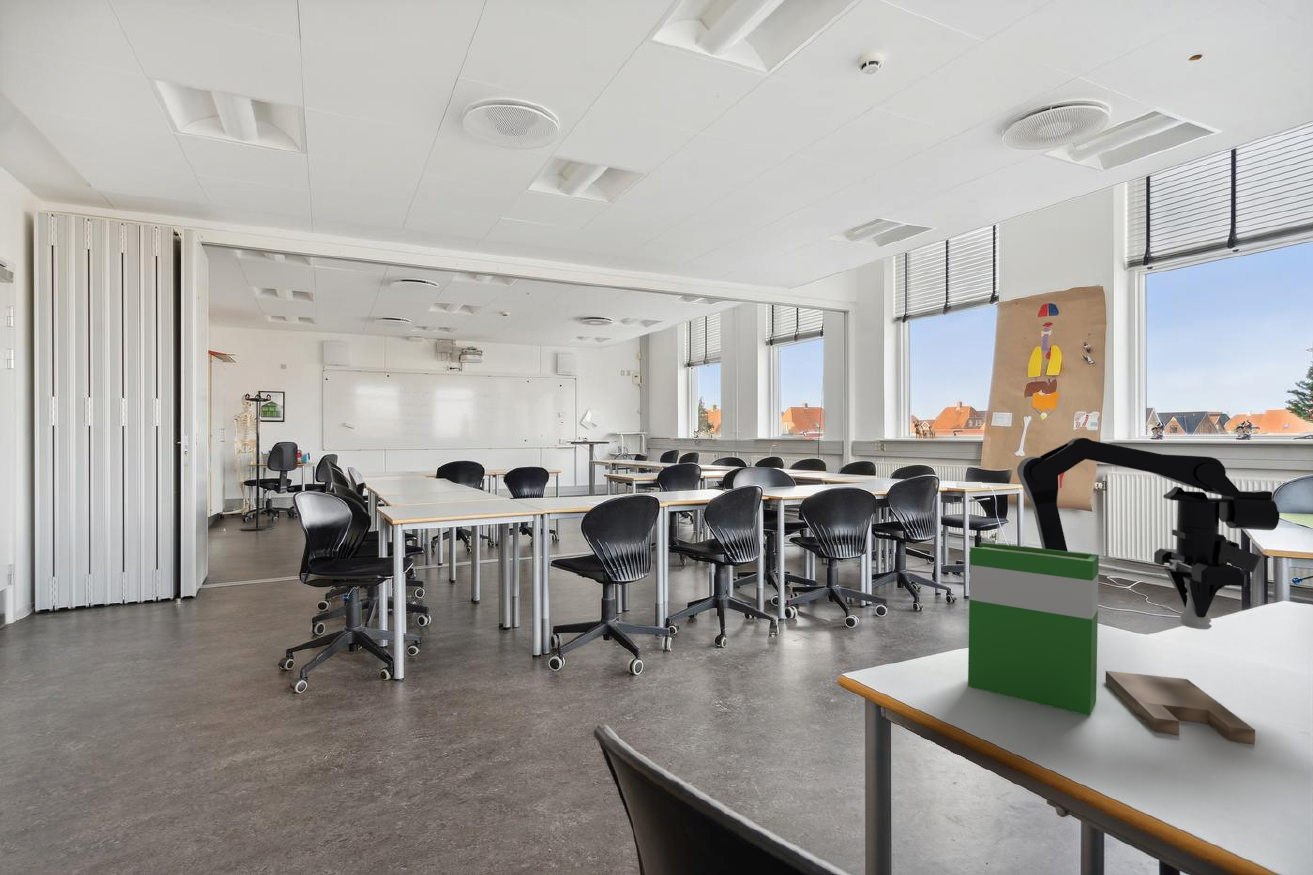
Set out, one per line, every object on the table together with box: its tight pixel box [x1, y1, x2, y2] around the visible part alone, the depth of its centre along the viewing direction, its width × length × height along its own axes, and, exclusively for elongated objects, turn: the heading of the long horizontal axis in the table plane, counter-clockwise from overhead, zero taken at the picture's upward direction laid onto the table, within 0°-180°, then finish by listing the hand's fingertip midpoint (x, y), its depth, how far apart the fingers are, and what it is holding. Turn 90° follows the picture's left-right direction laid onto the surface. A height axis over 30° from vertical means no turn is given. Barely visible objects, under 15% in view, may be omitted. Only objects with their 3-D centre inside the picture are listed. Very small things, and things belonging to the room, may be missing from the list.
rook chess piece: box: [1179, 585, 1213, 631], centre depth 116 cm, size 4×4×8 cm
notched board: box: [1104, 670, 1256, 745], centre depth 104 cm, size 12×20×2 cm, turn 163°
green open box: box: [967, 541, 1100, 717], centre depth 109 cm, size 18×7×24 cm, turn 50°
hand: (1195, 614), depth 116 cm, fingers closed on rook chess piece, 3 cm apart
